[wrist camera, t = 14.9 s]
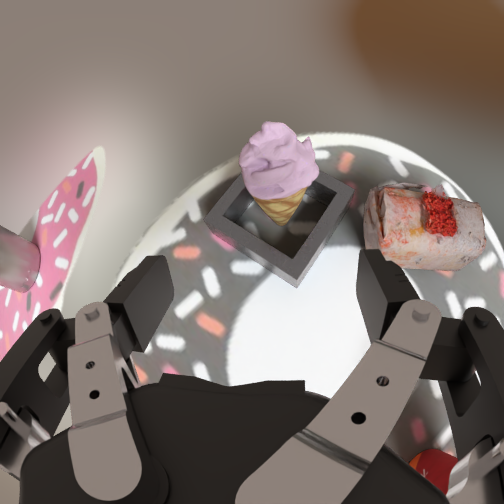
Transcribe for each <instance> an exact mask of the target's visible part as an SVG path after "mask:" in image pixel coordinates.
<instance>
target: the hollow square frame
mask: <svg viewBox="0 0 504 504" xmlns="http://www.w3.org/2000/svg"><path fill="white" fill-rule="evenodd" d="M354 192H355V189H353V188H351V187H350V186H348V185H346V184H344V183H342V182H341V181H339V180H337V179H335V178H333V177H331V176H329V175H328V174H326V173H324V172H322V171H320V170H319V175H318V177H317V178H316V179H315V180H314V181H312V183H311V185H310V186H308V187H307V189H306V192H305V194H307V195H309V196H311V197H312V198H314V199H316V200H318V201H320V202H321V203H323V204H325V205H327V206H328V208H327V209H326V211H325V212H324V214H323V215H322V217H321V218H320V220H319V221H318V223H317V224H316V226H315V227H314V229H313V230H312V232H311V233H310V235H309V236H308V238H307V239H306V241H305V242H304V244H303V245H302V247H301V248H300V250H299V251H298V253H297V254H296V256H295V257H294V258H293V259H291V258H290V257H288V256H286V255H285V254H283V253H282V252H280V251H278V250H277V249H275V248H274V247H272V246H270V245H269V244H267V243H266V242H264V241H262V240H261V239H259V238H258V237H256V236H254V235H253V234H251V233H250V232H248V231H246V230H245V229H243V228H242V227H240V226H238V225H237V224H235V223H236V221H237V220H238V219H239V218H240V216H241V215H242V214H243V212H244V211H245V210H246V209H247V207H248V206H249V205H250V203H251V202H252V201H253V200H254V198H253V196H252V195H251V194H250V193H249V191H248V190H247V188H246V186H245V184H244V181H243V176H242V173H241V174H240V175H239V176H238V178H237V179H236V180H235V181H234V182H233V184H232V185H231V186H230V187H229V188H228V190H227V191H226V192H225V193H224V194H223V196H222V197H221V198H220V199H219V201H218V202H217V203H216V204H215V206H214V207H213V208H212V209H211V211H210V212H209V213H208V214H207V216H206V217H205V218H204V219H203V220H204V221H205V223H206V224H207V226H208V227H209V228H210V230H211V231H212V233H213V234H215V235H216V236H218V237H219V238H221V239H222V240H224V241H225V242H227V243H228V244H230V245H231V246H233V247H234V248H236V249H237V250H239V251H240V252H242V253H243V254H245V255H247V256H248V257H250V258H251V259H253V260H254V261H256V262H257V263H259V264H260V265H262V266H263V267H265V268H266V269H268V270H269V271H271V272H272V273H274V274H276V275H277V276H279V277H280V278H282V279H283V280H285V281H286V282H288V283H289V284H291V285H292V286H294V287H295V288H297V287H298V286H299V285H300V283H301V282H302V280H303V279H304V277H305V276H306V274H307V273H308V271H309V270H310V268H311V267H312V265H313V264H314V262H315V260H316V259H317V257H318V256H319V254H320V253H321V251H322V250H323V248H324V247H325V245H326V243H327V242H328V240H329V239H330V237H331V236H332V234H333V232H334V231H335V229H336V228H337V226H338V224H339V223H340V221H341V220H342V218H343V216H344V215H345V213H346V211H347V210H348V208H349V206H350V204H351V201H352V198H353V195H354Z"/></svg>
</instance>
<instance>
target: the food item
mask: <svg viewBox="0 0 504 504" xmlns="http://www.w3.org/2000/svg"><path fill="white" fill-rule="evenodd" d="M441 186H442V184H441V185H438V186H436V188H435V189H434V190H435V192H434V190H433V189H432V191H431V192H429V193H427V191H425V193H424V192H415V191H410V190H409V188H412V187H415V188H418V189H421V188H422V187H428V186H425V185H417V184H411V183H399V184H395V185H386V186H383V187H380V188H378V186H376V187H374V188H372V189H371V190H370V191H369V196H368V198H367V201H366V203H365V205H364V221H363V229H364V239H365V246H366V249H379V250H380V251H381V253H382V254H383V256H384V258H385V259H386V261H388V260H392V261H393V262H394V263H396V264H397V265H399V266H400V267H401V268H411V269H426V270H443V271H457V270H460V269H461V268H463V267H465V266H466V265H467V264H468V263H470V262H471V261H473V260H474V259H476V258H477V257H478V256H479V255H482V252H483V250H484V249H485V245H486V238H485V235H484V232H485V231H484V226H485V225H484V219H483V215H482V210H481V207H480V205H479V203H477V202H470V201H466V200H462V199H457V198H451V197H446V195H445V193H444V192H443V189H444V188H443V186H442V187H441Z"/></svg>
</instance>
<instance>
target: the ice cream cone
mask: <svg viewBox="0 0 504 504" xmlns="http://www.w3.org/2000/svg"><path fill="white" fill-rule="evenodd" d="M261 129H262V131H258V132H256V133H255V134H254V135H253V136H252V137H251V138H250V139H249V142H248V143H247V144H246V145H245V146H244V147H243V149H242V151H241V153H240V156H239V165H240V166H241V169H242V176H243V181H244V184H245V186H246V188H247V190H248V191H249V193H250V194H251V195H252V196H253V198H254V199H255V201H256V202H257V203H258V205H259V206H260V207H261V208H262V209H263V211H264V212H265V213H266V214H267V215H268V216H269V217H270V218H271V219H272V220H273V221H274V222H275V223H276V224H278V225H279V226H284V225H285V224H286V223H287V222H288V221H289V219H290V218H291V217H292V215H293V214H294V212H295V210H296V209H297V207H298V206H299V204H300V202H301V200H302V198H303V196H304V194H305V192H306V189H307V187H308V186H310V185H311V183H312V181H314V180H315V179H316V178H317V177H318V175H319V168H318V166H317V164H316V162H315V153H314V150H313V149H312V144H311V141H310V138H309V137H307V138H306V139H305V141H304V142H302V143H301V142H300V141H299V140H297V136H296V134H295V133H294V132H293V131H292V130H291V129H290V128H289V127H288V126H287V125H285V124H284V123H278V122H275V123H274V122H269V121H267V122H264V123H263V124H262V126H261Z"/></svg>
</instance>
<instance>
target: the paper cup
mask: <svg viewBox="0 0 504 504" xmlns="http://www.w3.org/2000/svg"><path fill="white" fill-rule="evenodd" d="M457 462H458V458H456V457H454V456H451V455H449V454H447V453H445V452H443V451H440V450H438V449H428V450H425V451H423V452H421V453H419V454H418V455H417V456H415V457H414V458H413V459H412V460H411V462H410V463H409V465H410V466H411V467H413V468H414V469H415V470H416V471H417V472H419V473H420V474H421V475H422V476H424V477H425V478H426V479H427V480H429V481H430V482H431V483H432V484H434V485H435V486H436V487H437V488H439V489H440V490H441V491H442V492H443V493H444V494H445V495H447V492H448V486H449V477H450V473H451V471H452V469H453V467H454V466H455V465H456V463H457Z"/></svg>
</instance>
